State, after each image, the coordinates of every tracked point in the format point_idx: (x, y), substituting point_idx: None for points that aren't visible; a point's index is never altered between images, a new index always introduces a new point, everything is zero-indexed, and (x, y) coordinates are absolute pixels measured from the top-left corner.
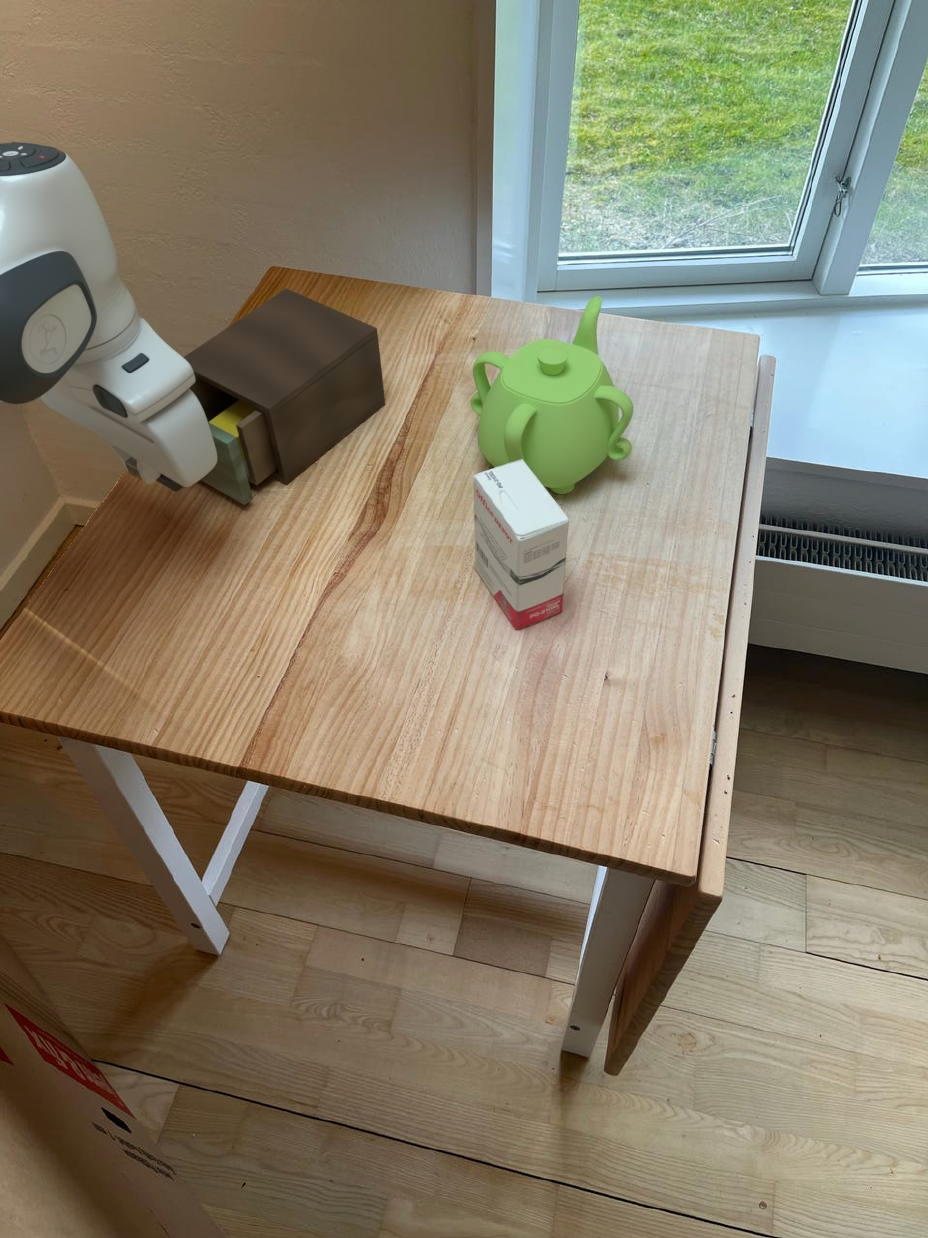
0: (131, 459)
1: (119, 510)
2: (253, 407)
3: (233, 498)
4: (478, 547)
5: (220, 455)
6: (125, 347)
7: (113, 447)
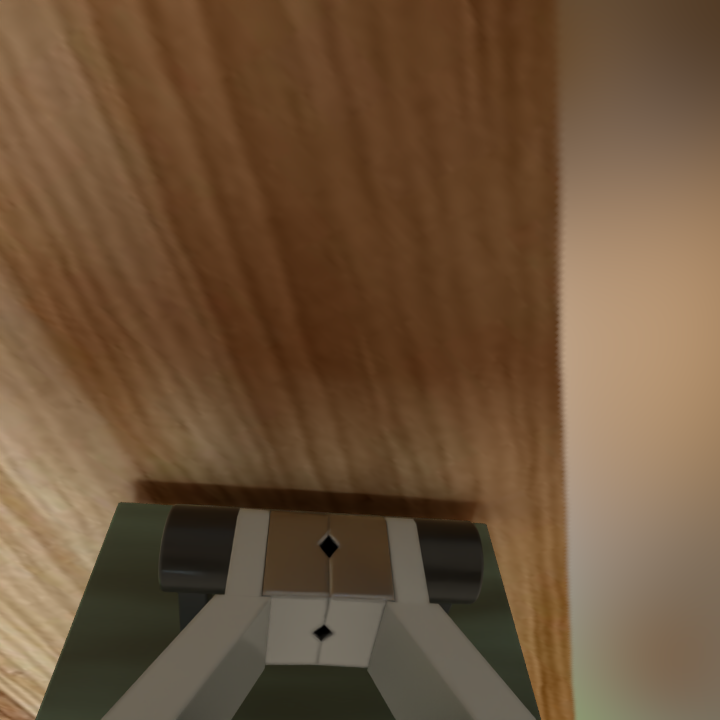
0: (365, 623)
1: (518, 313)
2: None
3: (168, 506)
4: None
5: (117, 700)
6: None
7: (463, 702)
